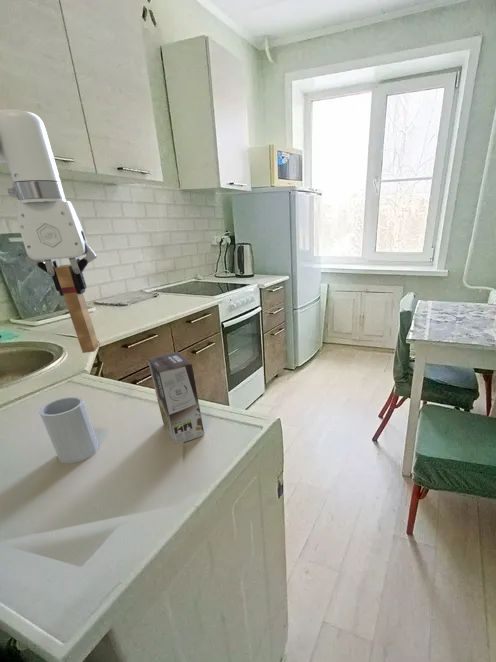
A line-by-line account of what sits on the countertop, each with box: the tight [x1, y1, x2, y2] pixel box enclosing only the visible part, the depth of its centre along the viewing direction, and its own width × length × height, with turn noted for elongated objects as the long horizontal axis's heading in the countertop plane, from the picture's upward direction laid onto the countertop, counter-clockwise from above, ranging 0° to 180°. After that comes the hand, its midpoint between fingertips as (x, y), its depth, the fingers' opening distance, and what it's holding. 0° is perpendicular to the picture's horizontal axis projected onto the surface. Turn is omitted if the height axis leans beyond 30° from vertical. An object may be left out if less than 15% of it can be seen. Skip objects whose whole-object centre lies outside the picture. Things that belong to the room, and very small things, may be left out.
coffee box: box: [147, 351, 205, 444], centre depth 72 cm, size 9×6×16 cm
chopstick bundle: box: [55, 263, 100, 354], centre depth 75 cm, size 3×4×18 cm, turn 13°
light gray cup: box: [38, 396, 100, 465], centre depth 67 cm, size 7×7×11 cm
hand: (73, 292), depth 74 cm, fingers closed on chopstick bundle, 2 cm apart
